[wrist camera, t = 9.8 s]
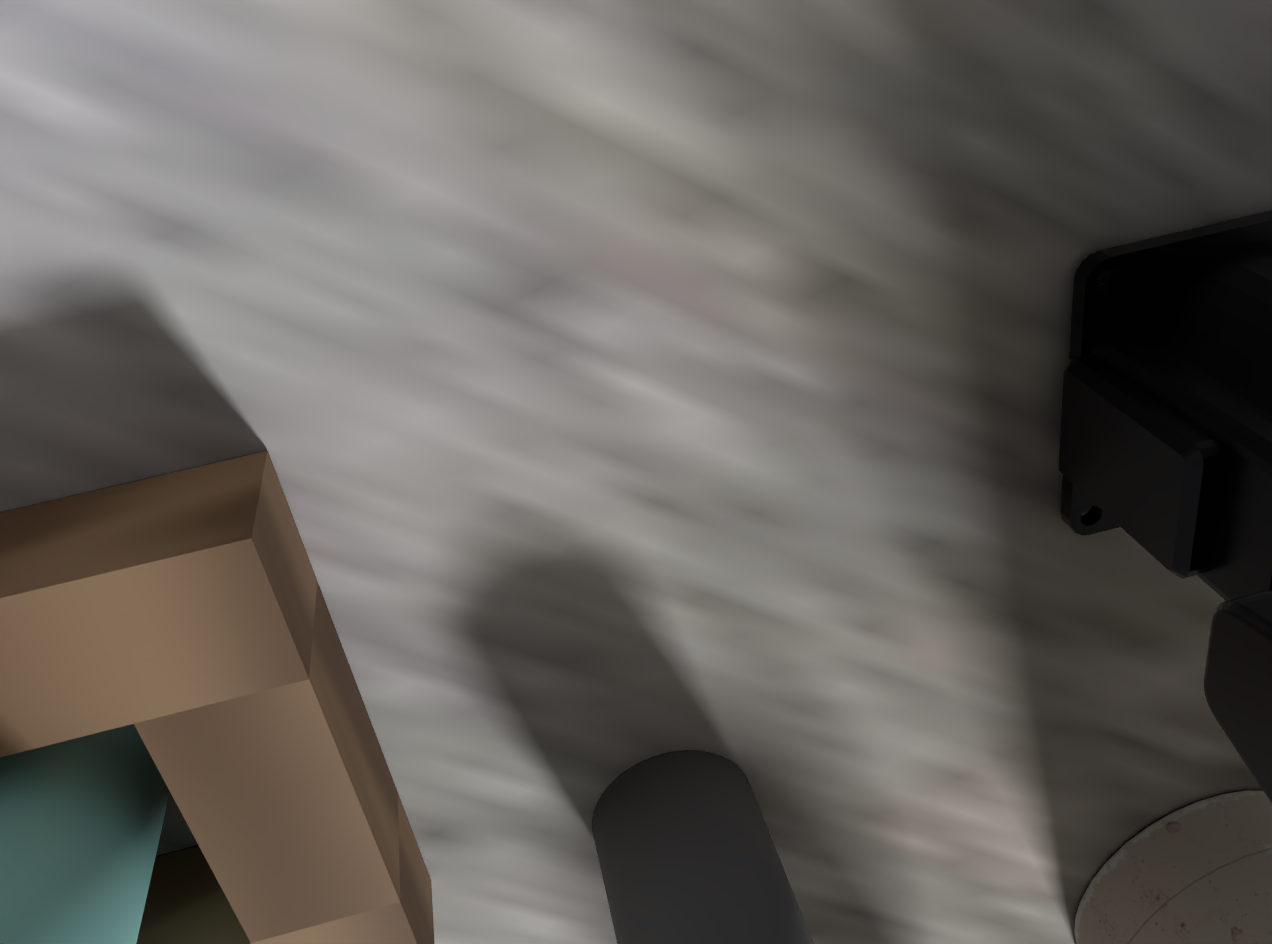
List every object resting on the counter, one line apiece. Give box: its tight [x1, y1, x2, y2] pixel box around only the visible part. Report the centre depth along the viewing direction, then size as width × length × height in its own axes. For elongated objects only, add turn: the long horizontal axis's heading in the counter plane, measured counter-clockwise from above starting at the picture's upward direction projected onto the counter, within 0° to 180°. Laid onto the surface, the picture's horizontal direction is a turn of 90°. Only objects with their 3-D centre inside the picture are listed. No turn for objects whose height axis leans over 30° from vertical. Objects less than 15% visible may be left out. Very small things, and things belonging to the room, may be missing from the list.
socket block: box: [0, 451, 434, 944], centre depth 21 cm, size 12×12×3 cm
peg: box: [0, 724, 170, 944], centre depth 20 cm, size 4×4×6 cm
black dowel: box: [592, 751, 813, 944], centre depth 24 cm, size 4×4×6 cm
